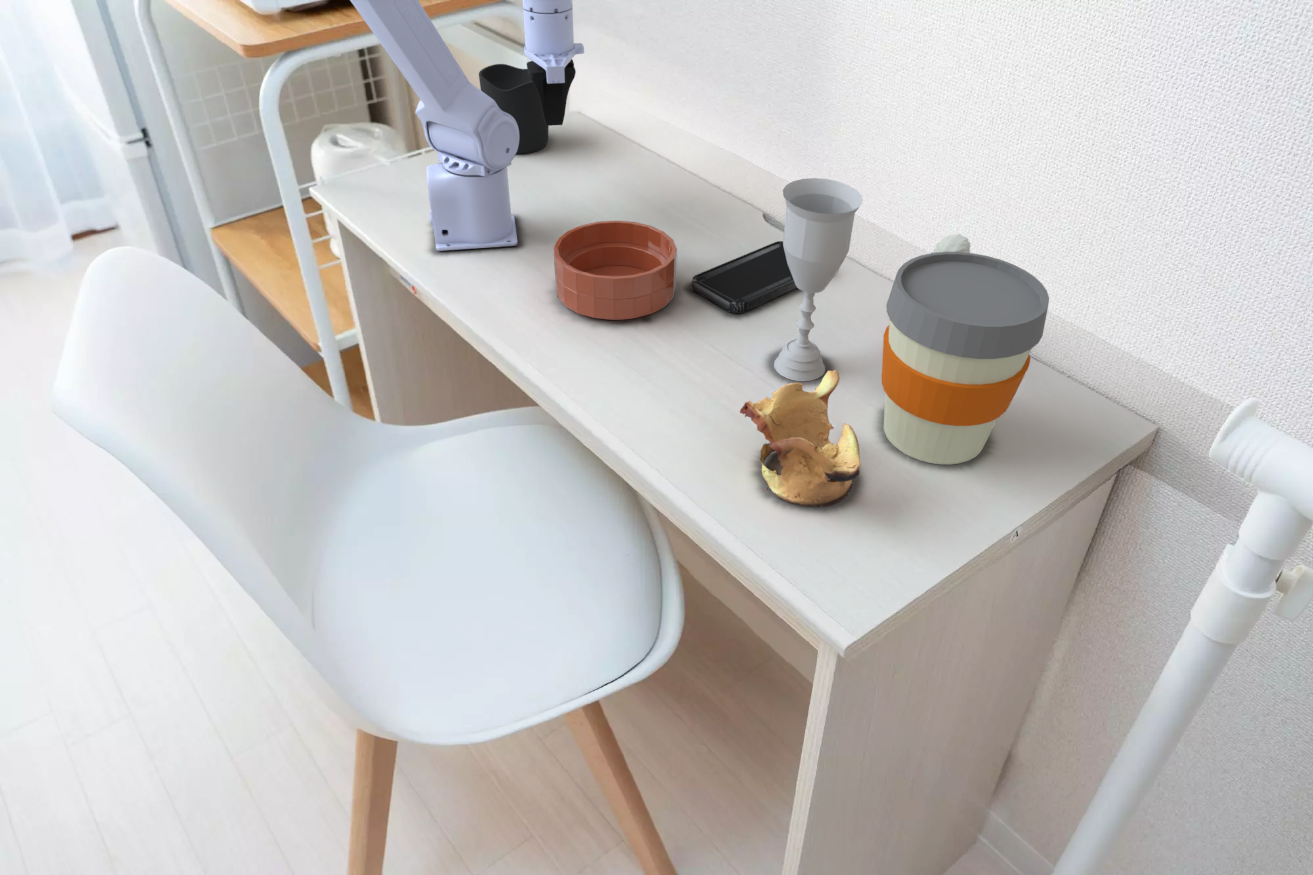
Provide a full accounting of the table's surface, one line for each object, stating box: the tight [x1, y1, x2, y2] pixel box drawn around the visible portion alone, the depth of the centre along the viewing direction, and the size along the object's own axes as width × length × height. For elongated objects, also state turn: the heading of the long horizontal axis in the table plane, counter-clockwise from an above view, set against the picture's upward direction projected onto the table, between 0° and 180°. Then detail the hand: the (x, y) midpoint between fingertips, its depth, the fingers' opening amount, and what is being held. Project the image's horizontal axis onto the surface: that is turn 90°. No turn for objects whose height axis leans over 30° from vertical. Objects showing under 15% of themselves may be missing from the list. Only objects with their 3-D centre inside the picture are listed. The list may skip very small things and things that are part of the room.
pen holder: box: [478, 63, 549, 155], centre depth 133 cm, size 9×9×10 cm
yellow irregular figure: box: [739, 369, 862, 508], centre depth 77 cm, size 12×10×8 cm
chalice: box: [773, 177, 864, 382], centre depth 87 cm, size 7×7×18 cm
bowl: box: [552, 220, 678, 321], centre depth 101 cm, size 13×13×6 cm
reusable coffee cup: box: [881, 252, 1050, 465], centre depth 80 cm, size 13×13×15 cm
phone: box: [691, 240, 798, 314], centre depth 105 cm, size 8×1×15 cm
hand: (553, 123), depth 117 cm, fingers closed
